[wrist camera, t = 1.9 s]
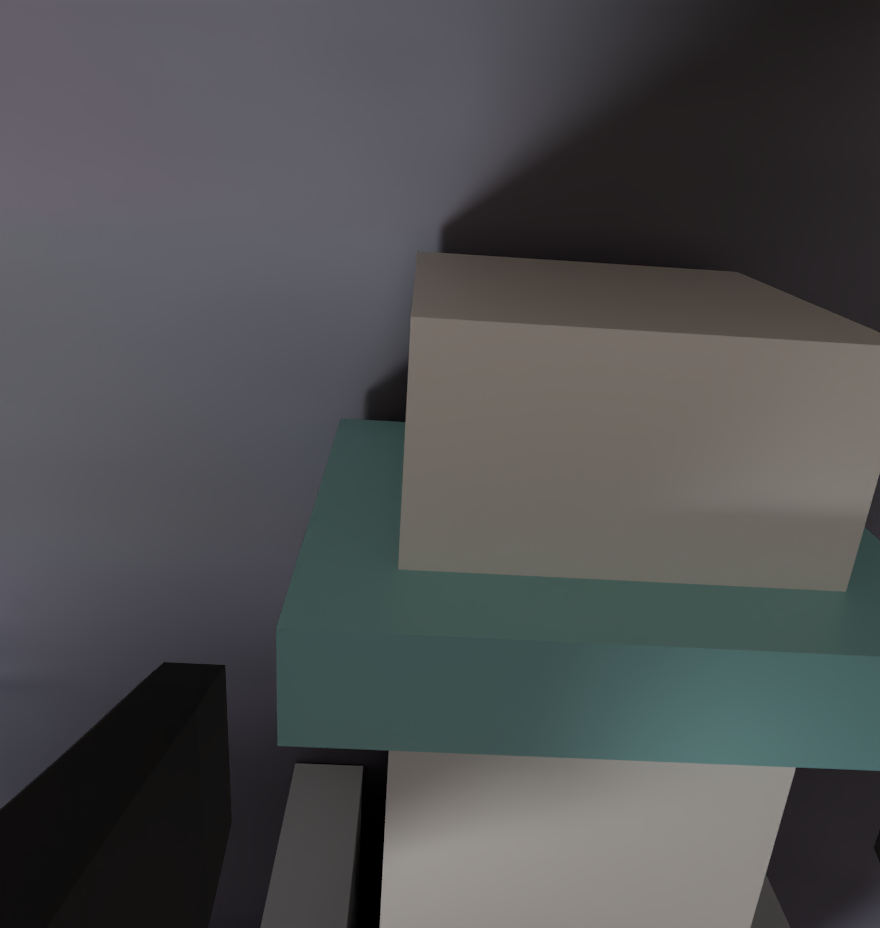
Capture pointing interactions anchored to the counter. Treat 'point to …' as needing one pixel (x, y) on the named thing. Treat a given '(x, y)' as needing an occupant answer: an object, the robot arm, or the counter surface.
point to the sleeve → (351, 855)
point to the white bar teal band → (595, 591)
